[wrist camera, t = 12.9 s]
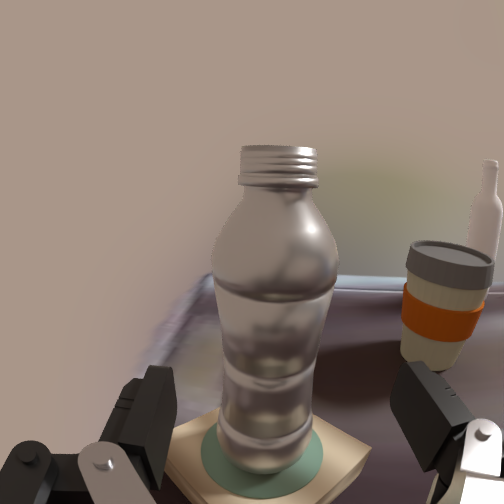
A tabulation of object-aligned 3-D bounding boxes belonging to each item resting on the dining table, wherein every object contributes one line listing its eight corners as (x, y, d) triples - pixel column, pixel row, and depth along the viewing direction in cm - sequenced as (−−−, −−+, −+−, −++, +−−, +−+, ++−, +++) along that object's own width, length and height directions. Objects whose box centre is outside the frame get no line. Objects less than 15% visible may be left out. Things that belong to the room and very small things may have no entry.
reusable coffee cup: (375, 335, 44) (392, 238, 40) (440, 329, 44) (459, 241, 40) (410, 385, 32) (443, 267, 28) (481, 370, 32) (513, 266, 28)
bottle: (449, 290, 60) (467, 155, 52) (469, 287, 62) (487, 161, 54) (473, 304, 53) (495, 158, 45) (492, 299, 54) (513, 164, 46)
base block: (263, 412, 29) (265, 381, 28) (359, 474, 21) (372, 445, 19) (159, 465, 21) (151, 435, 20) (253, 563, 13) (256, 546, 12)
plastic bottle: (202, 469, 18) (180, 144, 12) (238, 412, 24) (240, 150, 18) (294, 494, 16) (345, 145, 10) (314, 428, 22) (350, 154, 16)
